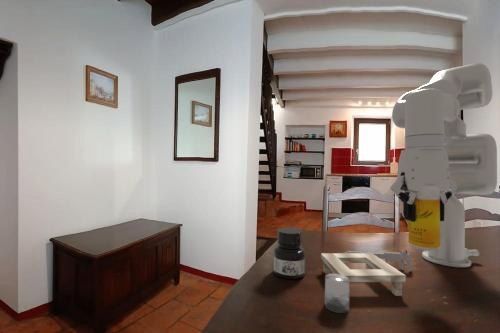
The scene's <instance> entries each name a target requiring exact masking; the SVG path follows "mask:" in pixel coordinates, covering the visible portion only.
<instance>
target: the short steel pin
mask: <svg viewBox="0 0 500 333" xmlns="http://www.w3.org/2000/svg"><path fill="white" fill-rule="evenodd" d="M350 283H351V282H350V280H349V278H347V277H346V276H344V275H341V274H334V273H330V274H325V275H324V307H325V308H326V309H327V310H329V311H330V312H332V313H338V314H346V313H348V312H349V311H350Z"/></svg>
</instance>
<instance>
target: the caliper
mask: <svg viewBox="0 0 500 333" xmlns="http://www.w3.org/2000/svg"><path fill="white" fill-rule="evenodd" d="M344 253H372V254H374V255H375V256H377V257H378V258H380V259H381V260H385V261H384V262H386V263H387V262H390V263H392V262H397V264H398V266H399V267H400V270H401V271H405V270H406V269H405V264H404V261H405V262H406V265H407V270H408V272H409V273H411V272H412V270H413V260H412V257H411V254H410V253H408V250H407V249H405V250H403V249H401V250H400V252H395V251H394V252H391V251H385V252H382V253H381V252H369V251H368V252H367V251H356V250H354V251H352V250H347V251H345V252H344Z"/></svg>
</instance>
